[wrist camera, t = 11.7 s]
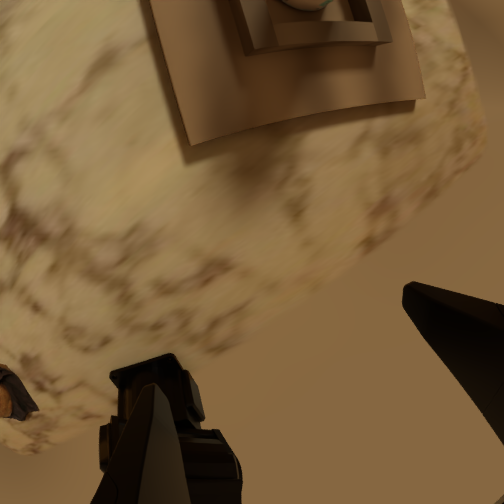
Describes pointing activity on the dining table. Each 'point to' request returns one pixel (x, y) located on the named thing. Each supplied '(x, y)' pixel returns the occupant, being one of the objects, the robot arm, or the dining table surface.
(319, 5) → the beer can
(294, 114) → the brown square frame
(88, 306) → the dining table surface
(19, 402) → the bread roll
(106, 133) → the dining table surface
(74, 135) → the dining table surface
